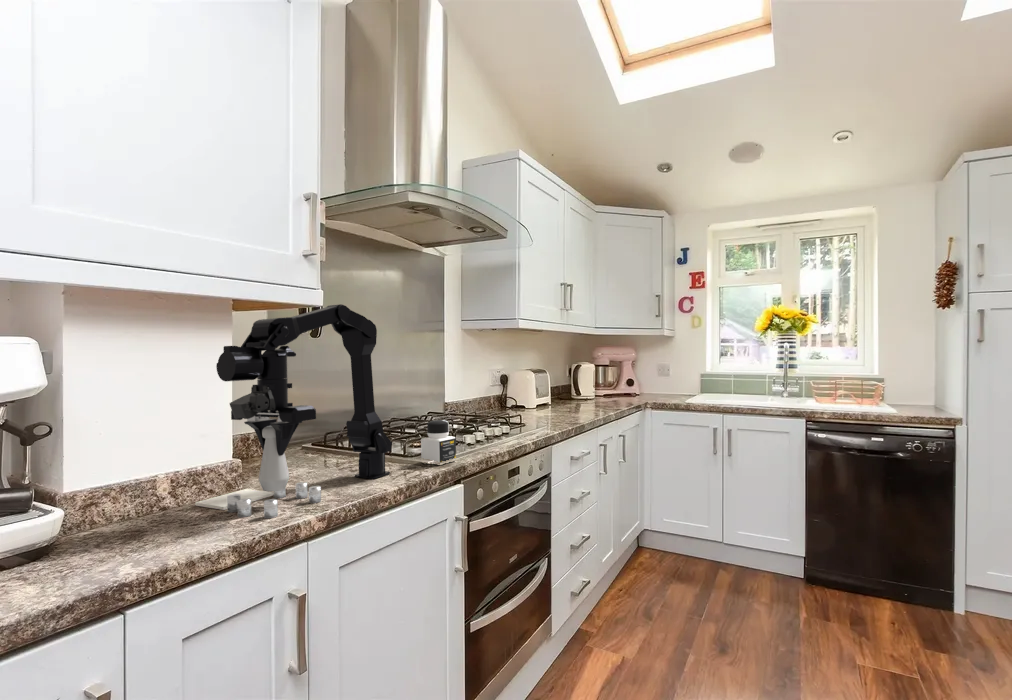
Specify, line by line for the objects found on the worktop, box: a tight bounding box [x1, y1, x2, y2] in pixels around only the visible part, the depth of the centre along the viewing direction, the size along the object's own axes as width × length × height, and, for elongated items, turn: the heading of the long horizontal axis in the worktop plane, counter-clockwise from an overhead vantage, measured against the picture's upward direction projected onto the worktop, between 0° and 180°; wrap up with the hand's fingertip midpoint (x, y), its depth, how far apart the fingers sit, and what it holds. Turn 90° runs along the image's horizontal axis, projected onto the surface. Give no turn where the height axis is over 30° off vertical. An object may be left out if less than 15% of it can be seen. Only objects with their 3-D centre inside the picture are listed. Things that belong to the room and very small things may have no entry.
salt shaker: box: [258, 426, 290, 492], centre depth 106 cm, size 6×6×13 cm
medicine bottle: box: [420, 419, 457, 462], centre depth 147 cm, size 7×7×12 cm
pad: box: [194, 488, 274, 511], centre depth 111 cm, size 12×9×1 cm
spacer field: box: [226, 481, 322, 519], centre depth 106 cm, size 16×13×3 cm
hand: (273, 454), depth 106 cm, fingers closed on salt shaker, 4 cm apart
